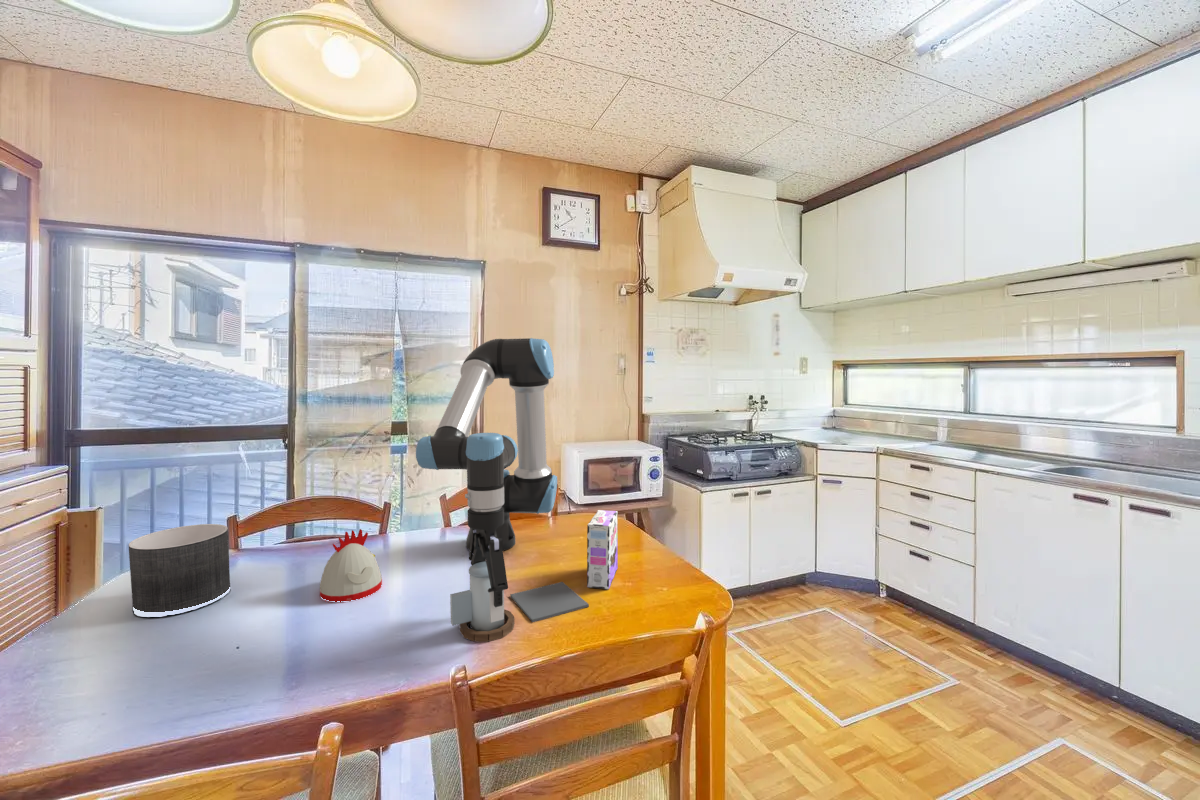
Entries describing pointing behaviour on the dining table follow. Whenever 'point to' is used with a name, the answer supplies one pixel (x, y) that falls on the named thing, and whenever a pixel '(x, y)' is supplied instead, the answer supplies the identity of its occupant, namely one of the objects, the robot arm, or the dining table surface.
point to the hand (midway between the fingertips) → (487, 607)
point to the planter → (179, 567)
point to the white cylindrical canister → (474, 601)
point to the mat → (548, 601)
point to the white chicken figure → (350, 571)
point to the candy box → (602, 549)
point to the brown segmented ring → (488, 635)
